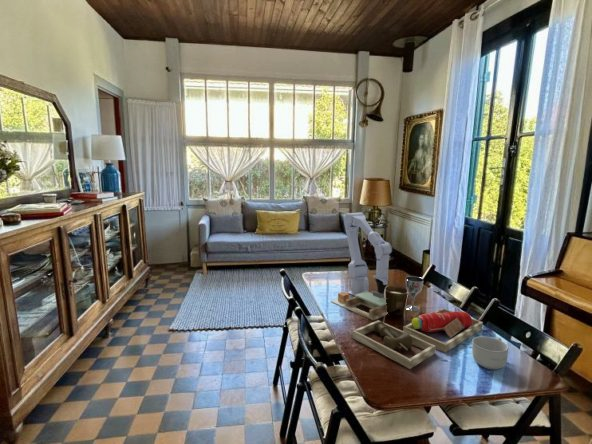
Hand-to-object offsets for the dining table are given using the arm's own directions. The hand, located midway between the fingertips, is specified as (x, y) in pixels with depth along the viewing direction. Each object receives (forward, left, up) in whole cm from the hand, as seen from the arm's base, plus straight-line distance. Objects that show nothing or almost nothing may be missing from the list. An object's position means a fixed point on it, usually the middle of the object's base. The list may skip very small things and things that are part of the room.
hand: (380, 293), depth 163 cm
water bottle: (+2, +33, -6) cm, 34 cm away
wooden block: (+12, -14, -5) cm, 19 cm away
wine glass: (-9, +12, -6) cm, 16 cm away
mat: (+12, -14, -6) cm, 19 cm away
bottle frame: (+1, +33, -6) cm, 33 cm away
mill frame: (+28, +27, -6) cm, 39 cm away
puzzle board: (+7, 0, -6) cm, 9 cm away
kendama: (+27, +26, -6) cm, 38 cm away
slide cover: (+6, 0, -1) cm, 6 cm away
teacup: (+10, +55, -6) cm, 56 cm away
